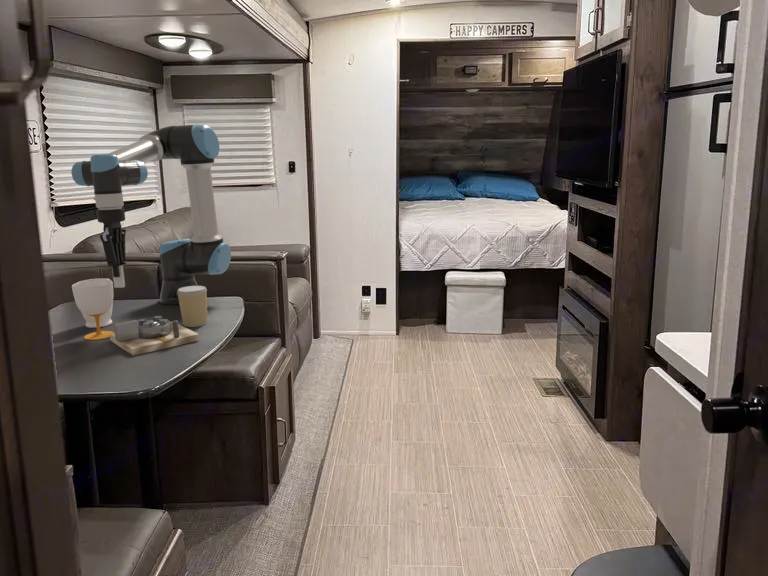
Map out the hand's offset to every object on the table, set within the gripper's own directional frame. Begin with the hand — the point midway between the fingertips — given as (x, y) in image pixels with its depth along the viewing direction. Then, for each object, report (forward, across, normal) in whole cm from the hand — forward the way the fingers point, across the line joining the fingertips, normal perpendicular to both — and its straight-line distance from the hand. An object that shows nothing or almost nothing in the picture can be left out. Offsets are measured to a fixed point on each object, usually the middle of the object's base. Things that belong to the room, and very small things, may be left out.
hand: (119, 286), depth 195 cm
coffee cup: (+17, -18, +16) cm, 30 cm away
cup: (+17, -7, -11) cm, 22 cm away
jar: (+17, -20, -17) cm, 32 cm away
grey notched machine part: (+15, +2, +6) cm, 16 cm away
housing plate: (+17, 0, +9) cm, 19 cm away
